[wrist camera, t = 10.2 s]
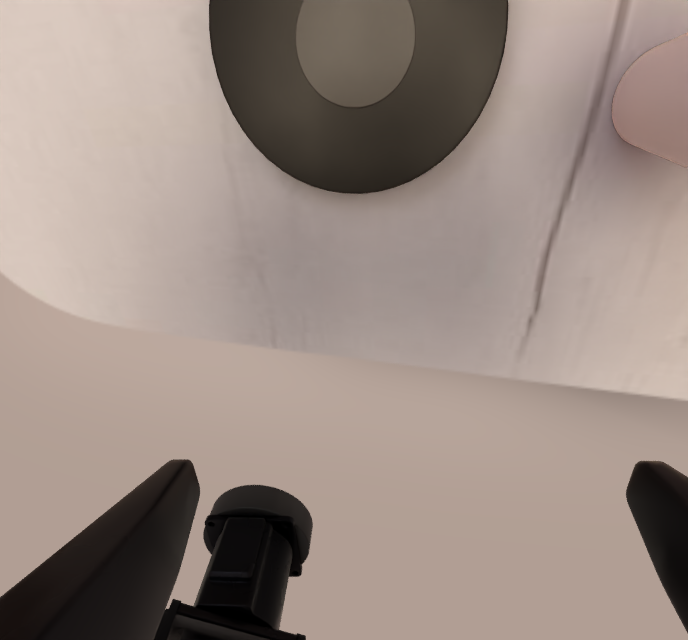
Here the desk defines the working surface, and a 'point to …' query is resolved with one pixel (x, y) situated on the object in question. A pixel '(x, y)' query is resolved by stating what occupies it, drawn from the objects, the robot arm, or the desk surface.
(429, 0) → the black coaster
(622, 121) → the smoothie
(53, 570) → the robot arm
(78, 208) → the desk surface
